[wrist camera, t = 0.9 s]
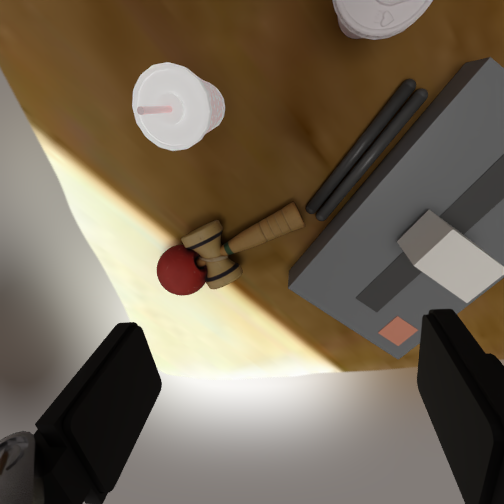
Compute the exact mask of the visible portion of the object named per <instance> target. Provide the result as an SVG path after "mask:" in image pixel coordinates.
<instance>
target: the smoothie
mask: <svg viewBox="0 0 504 504" xmlns="http://www.w3.org/2000/svg"><path fill="white" fill-rule="evenodd" d="M332 1H333V5H334V9H335V12H336V13H337V15H338V23H339V26H340V29H341V30H342V32H343V33H344V34H345V35H346V36H348V37H350V38H353V39H360V38H366V39H372V40H377V39H384V38H389V37H391V36H394V35H396V34H398V33H400V32H402V31H404V30H405V29H406V28H408V27H409V26H410V25H412V24H413V23H414V22H415V21H416V20H417V19H418V18H419V17H420V16H421V15H422V14H423V13H424V12H425V11H426V9H427V8H428V7H429V5H430V4H431V2H432V1H433V0H332Z"/></svg>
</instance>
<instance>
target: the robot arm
mask: <svg viewBox="0 0 504 504" xmlns="http://www.w3.org/2000/svg"><path fill="white" fill-rule="evenodd" d="M417 384H418V389H419V392H420V394H421V397H422V399H423V402H424V404H425V407H426V409H427V412H428V414H429V417H430V419H431V421H432V424H433V426H434V429H435V431H436V433H437V436H438V438H439V441H440V443H441V446H442V448H443V451H444V453H445V455H446V458H447V460H448V462H449V465H450V467H451V470H452V472H453V475H454V477H455V480H456V482H457V485H458V487H459V489H460V492H461V494H462V497H463V499H464V501H465V504H504V366H503V365H502V363H501V362H500V361H499V360H498V359H497V357H496V356H494V355H492V354H485V352H484V351H483V350H482V348H481V347H480V345H479V344H478V343H477V341H476V340H475V339H474V337H473V336H472V335H471V333H470V332H469V331H468V329H467V328H466V326H465V325H464V324H463V322H462V321H461V320H460V318H459V317H458V316H457V314H456V313H455V312H454V310H453V309H431V310H430V311H429V313H428V315H423V317H422V327H421V338H420V350H419V362H418V374H417ZM161 385H162V382H161V379H160V376H159V373H158V370H157V368H156V365H155V362H154V359H153V357H152V354H151V351H150V349H149V346H148V343H147V340H146V338H145V335H144V332H143V330H142V328H141V327H140V326H138V325H137V324H136V323H134V322H129V323H119V324H117V325H116V326H115V327H114V328H113V330H112V331H111V332H110V333H109V335H108V336H107V337H106V338H105V339H104V341H103V342H102V343H101V345H100V346H99V347H98V348H97V349H96V350H95V352H94V353H93V354H92V355H91V357H90V358H89V359H88V360H87V361H86V363H85V364H84V365H83V366H82V368H81V369H80V370H79V371H78V372H77V374H76V375H75V376H74V377H73V378H72V380H71V381H70V382H69V383H68V385H67V386H66V387H65V388H64V390H63V391H62V392H61V393H60V394H59V396H58V397H57V398H56V399H55V400H54V402H53V403H52V404H51V406H50V407H49V408H48V409H47V410H46V412H45V413H44V414H43V415H42V416H41V418H40V419H39V420H38V421H37V422H36V424H35V425H36V427H37V428H38V430H37V431H36V432H35V434H34V435H33V434H31V433H30V432H26V431H22V432H17V433H14V434H11V435H9V436H7V437H5V438H3V439H1V440H0V504H82V503H83V502H84V501H85V503H86V504H102V503H103V502H104V500H105V498H106V495H107V494H108V492H110V491H112V490H113V488H114V486H115V484H116V483H117V481H118V479H119V477H120V474H121V472H122V470H123V468H124V466H125V464H126V462H127V460H128V458H129V456H130V454H131V452H132V449H133V447H134V445H135V443H136V441H137V439H138V437H139V435H140V433H141V431H142V429H143V426H144V424H145V422H146V420H147V418H148V416H149V414H150V412H151V410H152V408H153V406H154V404H155V402H156V399H157V397H158V395H159V393H160V391H161Z"/></svg>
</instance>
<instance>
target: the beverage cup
mask: <svg viewBox="0 0 504 504" xmlns="http://www.w3.org/2000/svg"><path fill="white" fill-rule="evenodd" d="M132 108H133V112H134V115H135V119H136V122H137V124H138V126H139V127H140V129H141V130H142V132H143V133H144V135H145V136H146V138H148V139H149V140H150V141H152V142H153V143H154V144H156V145H157V146H158V147H161V148H164V149H168V150H171V151H176V150H183V149H188V148H190V147H191V146H193V145H194V144H196V143H197V142H199V141H200V140H202V138H203V136H204V135H205V134H206V133H208V132H209V131H211V130H213V129H214V128H216V127H217V126H219V124H220V123H221V121H222V119H223V118H224V112H225V104H224V98H223V97H222V95H221V93H220V91H219V90H218V89H217V88H216V87H214V86H213V85H212V84H210V83H208V82H206V81H204V80H202V79H200V78H199V77H197V76H196V75H195V74H194V73H193V72H191V71H190V70H189V69H188V68H186V67H183V66H180V65H176V64H173V63H169V62H166V63H161V64H156V65H152V66H151V67H150V68H148V69H147V70H146V71H145V72H143V73H142V74H141V75H140V77H139V79H138V81H137V83H136V85H135V87H134V89H133V102H132Z"/></svg>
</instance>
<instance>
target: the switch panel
mask: <svg viewBox="0 0 504 504" xmlns="http://www.w3.org/2000/svg"><path fill="white" fill-rule="evenodd" d="M415 88H416V82H415V81H414V80H413V79H407V80H405V81H404V82H403V83H402V85H401V86H400V87H399V89H398V90H397V91H396V92H395V94H394V95H393V96H392V97H391V99H390V100H389V101H388V103H387V104H386V105H385V106H384V108H383V109H382V110H381V111H380V113H379V114H378V115H377V117H376V118H375V119H374V120H373V122H372V123H371V124H370V126H369V127H368V128H367V129H366V131H365V132H364V133H363V134H362V136H361V137H360V138H359V140H358V141H357V142H356V143H355V145H354V146H353V147H352V149H351V150H350V151H349V152H348V154H347V155H346V156H345V157H344V159H343V160H342V161H341V163H340V164H339V165H338V166H337V168H336V169H335V170H334V171H333V173H332V174H331V175H330V177H329V178H328V179H327V180H326V182H325V183H324V184H323V186H322V187H321V188H320V189H319V191H318V192H317V193H316V194H315V196H314V197H313V198H312V200H311V201H310V202H309V203H308V205H307V206H306V211H307V212H308V213H309V214H314V213H315V212H316V211H317V210H318V209H319V207H320V206H321V205H322V204H323V202H324V201H325V200H326V199H327V198H328V196H329V195H330V194H331V193H332V191H333V190H334V189H335V188H336V186H337V185H338V184H339V183H340V181H341V180H342V179H343V178H344V176H345V175H346V174H347V173H348V172H349V170H350V169H351V168H352V167H353V165H354V164H355V163H356V162H357V160H358V159H359V158H360V157H361V155H362V154H363V153H364V152H365V150H366V149H367V148H368V147H369V146H370V144H371V143H372V142H373V141H374V139H375V138H376V137H377V136H378V134H379V133H380V132H381V131H382V129H383V128H384V127H385V126H386V124H387V123H388V122H389V121H390V120H391V118H392V117H393V116H394V115H395V113H396V112H397V111H398V110H399V108H400V107H401V106H402V105H403V103H404V102H405V101H406V100H407V98H408V97H409V96H410V95H411V94H412V92H413V91H414V90H415ZM427 97H428V92H427V90H426V89H418V90H417V91H416V92H415V93H414V94H413V95H412V96H411V98H410V99H409V100H408V101H407V103H406V104H405V105H404V106H403V107H402V109H401V110H400V111H399V112H398V114H397V115H396V116H395V117H394V119H393V120H392V121H391V122H390V123H389V125H388V126H387V127H386V128H385V130H384V131H383V132H382V133H381V135H380V136H379V137H378V138H377V140H376V141H375V142H374V143H373V144H372V146H371V147H370V148H369V149H368V151H367V152H366V153H365V154H364V156H363V157H362V158H361V159H360V160H359V162H358V163H357V164H356V165H355V167H354V168H353V169H352V170H351V172H350V173H349V174H348V175H347V176H346V178H345V179H344V180H343V181H342V183H341V184H340V185H339V186H338V188H337V189H336V190H335V191H334V193H333V194H332V195H331V196H330V197H329V199H328V200H327V201H326V202H325V204H324V205H323V206H322V207H321V209H320V210H319V211H318V212H317V214H316V218H317V219H318V220H319V221H324V220H326V219H327V217H328V216H329V215H330V214H331V213H332V211H333V210H334V209H335V208H336V207H337V205H338V204H339V203H340V202H341V201H342V200H343V198H344V197H345V196H346V195H347V194H348V192H349V191H350V190H351V189H352V188H353V186H354V185H355V184H356V183H357V182H358V180H359V179H360V178H361V177H362V176H363V174H364V173H365V172H366V171H367V170H368V168H369V167H370V166H371V165H372V164H373V162H374V161H375V160H376V159H377V158H378V156H379V155H380V154H381V153H382V152H383V150H384V149H385V148H386V147H387V146H388V145H389V143H390V142H391V141H392V140H393V139H394V137H395V136H396V135H397V134H398V133H399V131H400V130H401V129H402V128H403V127H404V125H405V124H406V123H407V122H408V121H409V119H410V118H411V117H412V116H413V115H414V113H415V112H416V111H417V110H418V109H419V107H420V106H421V105H422V104H423V103H424V101H425V100H426V99H427ZM428 210H431V211H432V212H433V213H435V214H436V215H437V216H439V217H440V218H441V219H443V220H444V221H445V222H447V223H448V224H449V225H451V226H452V227H454V228H455V229H456V230H458V231H459V232H460V233H462V234H463V235H464V236H466V237H467V238H468V239H470V240H471V241H472V242H474V243H475V244H476V245H478V246H479V247H480V248H481V249H483V250H484V251H485V252H486V253H488V254H489V255H490V256H491V257H493V258H494V259H495V260H496V261H498V262H499V263H500V264H501V265H502V266H504V68H503V67H501V66H500V65H499V64H498V63H497V62H496V61H494V60H493V59H492V58H491V57H489V58H485V59H480V60H476V61H472V62H467V63H465V64H464V65H463V67H462V68H461V69H460V70H459V71H458V72H457V74H456V75H455V76H454V77H453V78H452V79H451V81H450V82H449V83H448V84H447V85H446V87H445V88H444V89H443V90H442V91H441V92H440V94H439V95H438V96H437V97H436V98H435V100H434V101H433V102H432V103H431V104H430V105H429V107H428V108H427V109H426V110H425V111H424V112H423V114H422V115H421V116H420V117H419V118H418V120H417V121H416V122H415V123H414V124H413V125H412V127H411V128H410V129H409V130H408V131H407V133H406V134H405V135H404V136H403V137H402V138H401V140H400V141H399V142H398V143H397V144H396V145H395V147H394V148H393V149H392V150H391V151H390V153H389V154H388V155H387V156H386V157H385V158H384V160H383V161H382V162H381V163H380V164H379V166H378V167H377V168H376V169H375V170H374V171H373V173H372V174H371V175H370V176H369V177H368V178H367V180H366V181H365V182H364V183H363V184H362V186H361V187H360V188H359V189H358V190H357V191H356V193H355V194H354V195H353V196H352V197H351V199H350V200H349V201H348V202H347V203H346V204H345V206H344V207H343V208H342V209H341V210H340V211H339V213H338V214H337V215H336V216H335V217H334V219H333V220H332V221H331V222H330V223H329V224H328V226H327V227H326V228H325V229H324V230H323V231H322V233H321V234H320V235H319V236H318V237H317V239H316V240H315V241H314V242H313V243H312V244H311V246H310V247H309V248H308V249H307V250H306V252H305V253H304V254H303V255H302V256H301V257H300V259H299V260H298V261H297V262H296V263H295V264H294V266H293V267H292V268H291V269H290V270H289V280H288V289H290V290H292V291H293V292H295V293H296V294H298V295H299V296H301V297H302V298H304V299H305V300H307V301H309V302H310V303H312V304H313V305H315V306H316V307H318V308H319V309H321V310H322V311H324V312H326V313H327V314H329V315H330V316H332V317H333V318H335V319H336V320H338V321H339V322H341V323H343V324H344V325H346V326H347V327H349V328H350V329H352V330H353V331H355V332H357V333H358V334H360V335H361V336H363V337H364V338H366V339H367V340H369V341H370V342H372V343H374V344H375V345H377V346H378V347H380V348H381V349H383V350H384V351H386V352H387V353H389V354H391V355H392V356H394V357H395V358H397V359H400V358H401V357H402V356H404V355H405V354H406V353H407V352H409V351H410V350H411V349H413V348H414V347H415V346H416V345H418V344H419V343H420V338H421V327H422V317H423V315H428V313H429V311H430V310H431V309H453V310H454V312H455V313H456V314H457V313H459V312H460V311H461V310H463V309H464V308H465V307H466V306H468V305H469V304H470V303H472V302H473V301H474V300H475V299H477V298H478V297H479V296H481V295H482V294H483V293H484V292H486V291H487V290H488V289H490V288H491V287H492V286H493V285H495V284H496V283H497V282H499V281H500V280H501V279H502V278H504V275H503V276H501V277H500V278H499V279H497V280H496V281H495V282H494V283H492V284H491V285H490V286H489V287H487V288H486V289H485V290H483V291H482V292H481V293H480V294H478V295H477V296H476V297H474V298H473V299H472V300H471V301H469V302H468V303H466V302H464V301H463V300H462V299H460V298H459V297H457V296H456V295H455V294H453V293H452V292H450V291H449V290H447V289H446V288H445V287H443V286H442V285H440V284H439V283H437V282H436V281H435V280H433V279H432V278H430V277H429V276H428V275H426V274H425V273H423V272H422V271H420V270H419V269H418V268H416V267H415V266H413V264H412V263H411V261H410V260H409V258H408V257H407V256H406V254H405V253H404V251H403V250H402V248H401V247H400V245H399V244H398V243H397V241H398V240H399V239H400V238H401V237H402V236H403V235H404V234H405V233H406V232H407V231H408V230H409V229H410V228H411V227H412V226H413V225H414V224H415V223H416V222H417V221H418V220H419V219H420V218H421V217H422V216H423V215H424V214H425V213H426V212H427V211H428Z"/></svg>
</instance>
